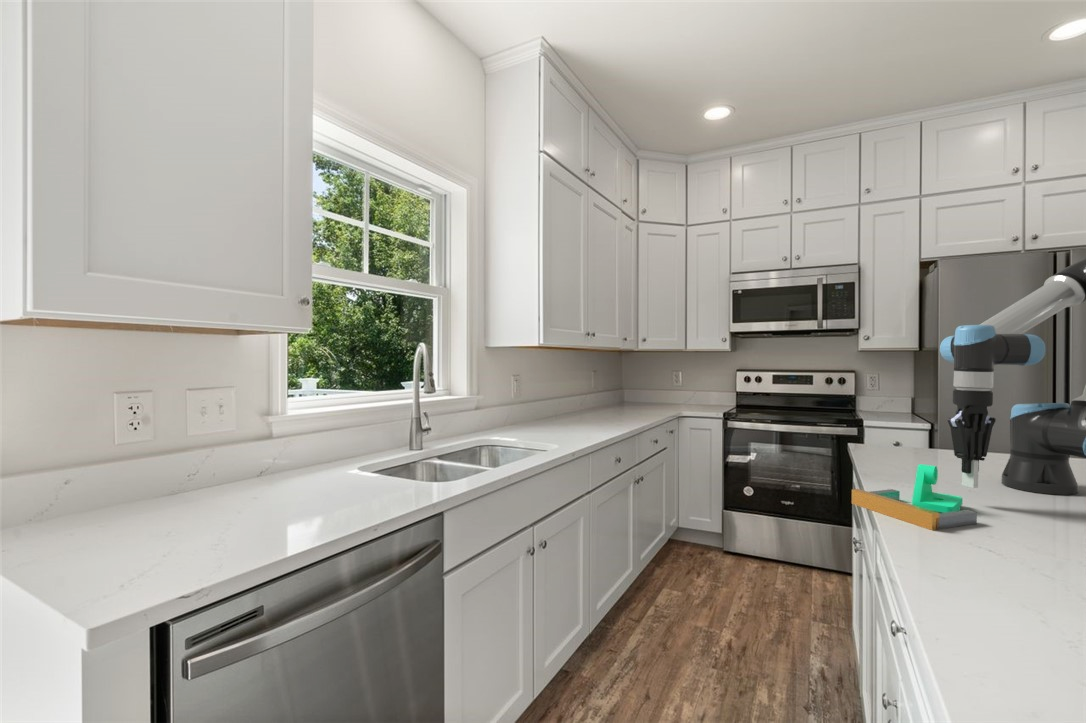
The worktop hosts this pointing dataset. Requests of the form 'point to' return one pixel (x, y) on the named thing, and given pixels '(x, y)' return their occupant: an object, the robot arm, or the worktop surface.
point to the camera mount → (928, 498)
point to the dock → (910, 510)
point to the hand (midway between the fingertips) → (969, 486)
